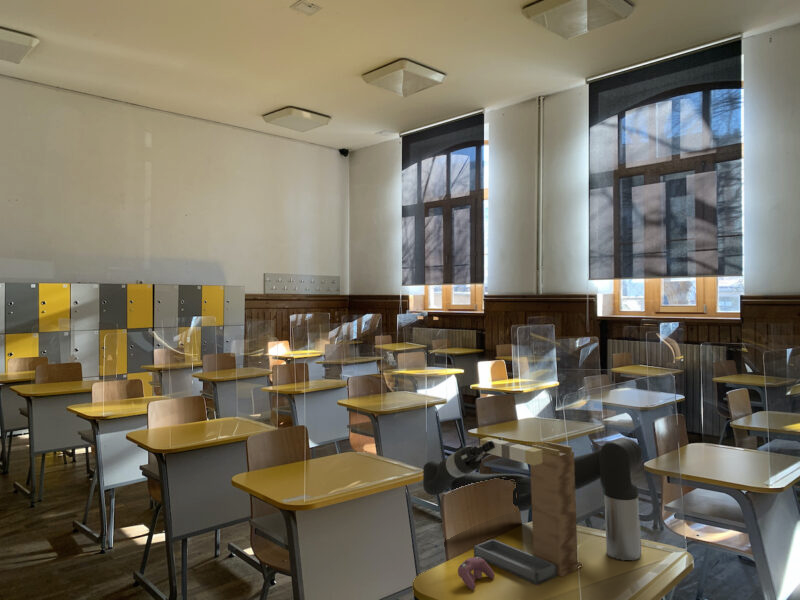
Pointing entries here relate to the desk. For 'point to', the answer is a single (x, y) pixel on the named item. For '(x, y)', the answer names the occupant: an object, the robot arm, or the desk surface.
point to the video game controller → (478, 567)
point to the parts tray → (516, 561)
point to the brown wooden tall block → (555, 508)
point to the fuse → (514, 451)
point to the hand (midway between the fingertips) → (497, 442)
